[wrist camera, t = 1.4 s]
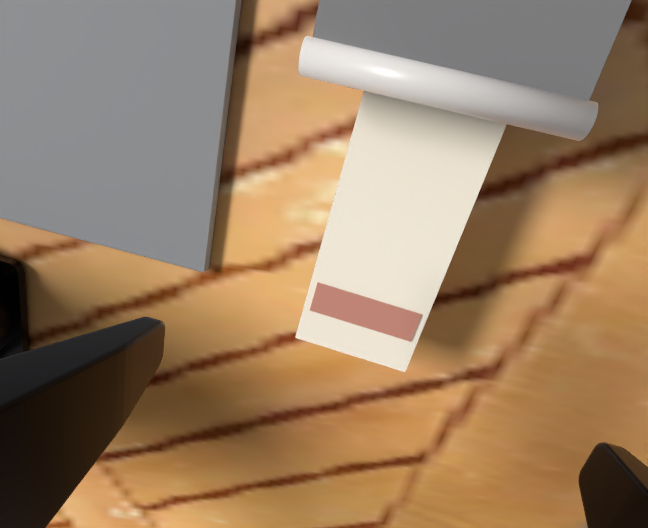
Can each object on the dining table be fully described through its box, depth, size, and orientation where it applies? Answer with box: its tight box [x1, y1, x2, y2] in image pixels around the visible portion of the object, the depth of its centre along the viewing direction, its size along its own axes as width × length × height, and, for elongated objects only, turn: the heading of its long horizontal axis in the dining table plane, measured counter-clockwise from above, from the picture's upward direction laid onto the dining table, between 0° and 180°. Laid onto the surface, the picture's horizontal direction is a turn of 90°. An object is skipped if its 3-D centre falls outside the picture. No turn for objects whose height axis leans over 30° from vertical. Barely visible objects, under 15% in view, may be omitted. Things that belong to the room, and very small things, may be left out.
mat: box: [0, 0, 242, 272], centre depth 17 cm, size 17×13×1 cm
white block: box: [295, 91, 507, 372], centre depth 16 cm, size 14×4×4 cm, turn 165°
